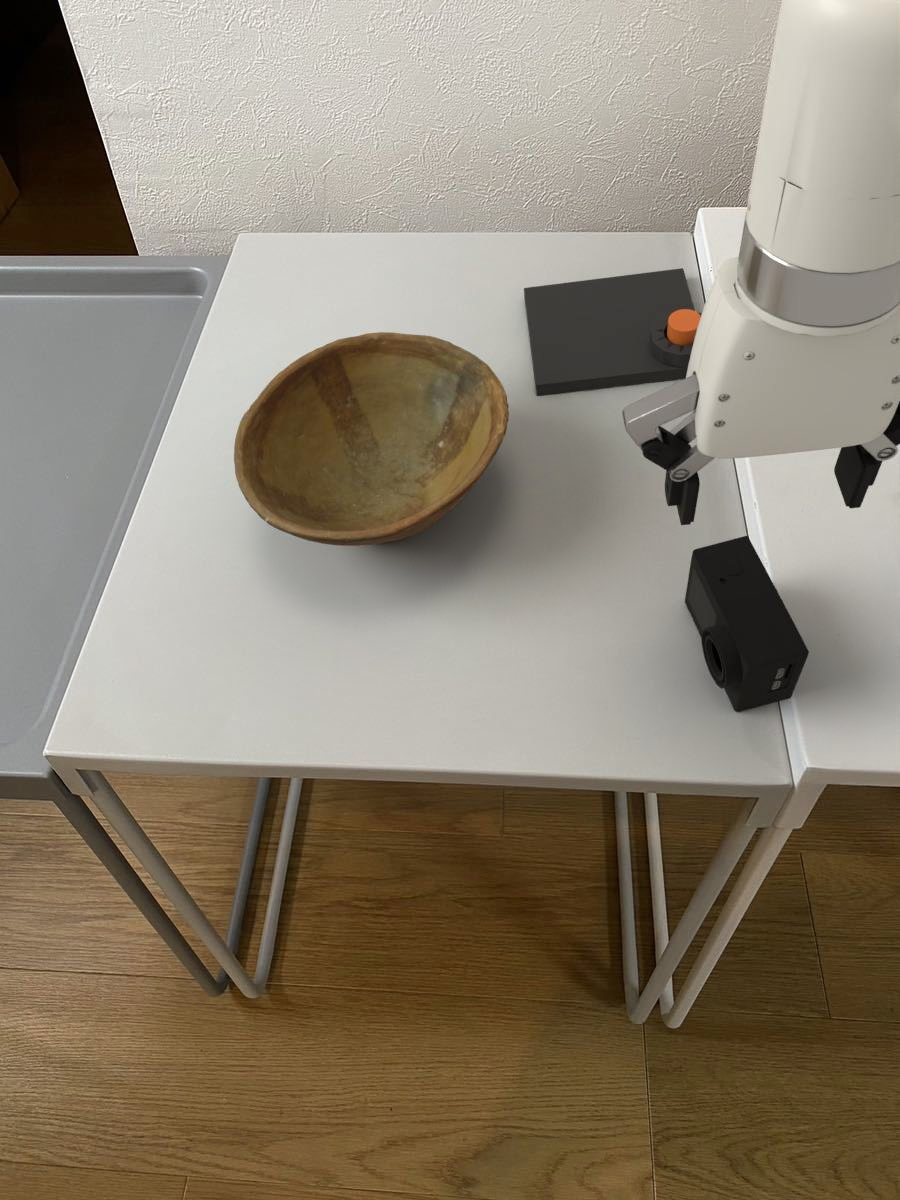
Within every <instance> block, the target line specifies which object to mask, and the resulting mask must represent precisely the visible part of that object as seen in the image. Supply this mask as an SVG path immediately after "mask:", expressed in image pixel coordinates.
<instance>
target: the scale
mask: <svg viewBox="0 0 900 1200" xmlns="http://www.w3.org/2000/svg"><path fill="white" fill-rule="evenodd" d="M523 297H524V305H525V313H526V314H525V315H526V322H527V331H528V338H529V347H530V353H531V355H530V356H531V363H532V371H533V380H534V387H535V395H536V396H544V395H553V394H562V393H570V392H579V391H580V392H581V391H589V390H598V389H605V388H613V387H615V388H616V387H623V386H632V385H639V384H641V385H642V384H647V383H648V384H650V383H657V382H665V381H674V380H683V379H685V378H686V375H687V370H688V365H689V360H690V356H691V351H692V347H693V344H691V345H683V346H682V345H678V344H673V343H672V342H671V341H669V339H668V337H667V328H668V319H669V316H670V315H671V314H672V313H673V312H675V311H677V310H681V309H689V310H693V311H695V312H697V313H698V314H699V315H700V316H701V315H702V312H699V311H696V310H695V306H694V303H693V299H692V296H691V291H690V288H689V284H688V280H687V277H686V273H685V270H684V268H683V267H681V268H680V267H679V268H674V269H673V268H672V269H666V270H665V269H664V270H657V271H650V272H640V273H633V274H624V275H617V276H610V277H609V276H608V277H602V278H593V279H585V280H578V281H577V280H576V281H569V282H563V283H562V282H561V283H553V284H545V285H537V286H528V287H524V288H523Z"/></svg>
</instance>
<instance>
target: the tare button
mask: <svg viewBox="0 0 900 1200" xmlns="http://www.w3.org/2000/svg"><path fill="white" fill-rule="evenodd" d="M697 312H698V311H696V310H695V311H693V310H689V309H681V310H677V311H675V312H673V313H672V314H671V315H670V316H669V319H668V328H667V337H668V339H669V341H671V342H672V343H673V344H678V345H682V346H683V345H691V344H693V343H694V339H695V335H696V332H697V328H698V325H699V321H700V318H701V316H700V315H699V314H698V313H697Z"/></svg>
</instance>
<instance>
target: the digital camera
mask: <svg viewBox="0 0 900 1200" xmlns="http://www.w3.org/2000/svg"><path fill="white" fill-rule="evenodd" d="M685 590H686V591H685V595H684V596H685V597H684V604H685V606H686V608H687V610H688V613H689V614H690V616H691V618H692V621H693V624H694V625H695V627H696V629H697V632H698V634H699V636H700V638H701V648H702V653H703V657H704V660H705V664H706V667H707V670H708V672H709V674H710V676H711V678H712V680H713V681H714V683H715V684H716V686H717V687H718V688H719V689H724V691H725V693H726V696H727V697H728V700H729V702H730V704H731V706H732V708H733V710H734V711H733V712H736V713H739V712H744V711H747V710H750V709H751V710H752V709H754V708H758V707H761V706H762V707H763V706H765V705H769V704H773V703H777V702H780V701H785V700H788V699H791V698H792V696H793V693H794V691H795V690H796V689H795V688H796V686H797V684H798V681H799V679H800V676H801V674H802V672H803V669H804V667H805V664H806V662H807V659H808V657H809V653H810V651H809V649H808V647H807V645H806V643H805V641H804V639H803V637H802V635H801V633H800V632H799V630H798V628H797V626H796V624H795V622H794V620H793V618H792V616H791V614H790V613H789V611H788V608H787V607H786V605H785V603H784V601H783V599H782V597H781V596H780V593H779V592H778V590H777V587H776V586H775V584H774V582H773V580H772V579H771V577H770V575H769V573H768V571H767V570H766V568H765V566H764V563H763V561H762V560H761V558H760V556H759V554H758V552H757V551H756V549H755V547H754V545H753V543H752V541H751V540H750V537H749V536H748V535H744V536H741V537H736V538H732V539H729V540H725V541H721V542H717V543H714V544H710V545H705V546H702V547H699V548H695V549H693V550H692V554H691V560H690V565H689V572H688V578H687V584H686V589H685Z"/></svg>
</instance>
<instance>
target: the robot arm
mask: <svg viewBox="0 0 900 1200" xmlns="http://www.w3.org/2000/svg"><path fill="white" fill-rule="evenodd" d="M779 7H780V8H779V12H778V19H777V24H776V30H775V36H774V42H773V49H772V55H771V59H770V60H771V61H770V66H769V71H768V72H769V73H768V77H767V78H768V79H767V85H766V90H765V97H764V103H763V109H762V116H761V121H760V128H759V134H758V140H757V146H756V151H755V152H756V153H755V158H754V164H753V170H752V174H751V180H750V186H749V193H748V197H747V205H746V212H745V216H744V221H743V222H744V223H743V228H742V234H741V241H740V247H739V252H738V257H737V256H736V257H734V258H730V259H727V260H725V261H724V262H723V263H722V264H721V266H720V267H719V270H718V271H717V273H716V275H715V277H714V280H713V282H712V285H711V287H710V290H709V292H708V295H707V298H706V299H705V302H704V306H703V309H702V312H701V313H702V315H701V318H700V321H699V325H698V328H697V332H696V335H695V339H694V343H693V347H692V351H691V356H690V360H689V365H688V370H687V375H686V378H684V379H680V380H679V381H676V382H675V383H673V384H671V385H668V386H666V387H664V388H662V389H660V390H657V391H656V392H653V393H651V394H650V395H647V396H645V397H643V398H641V399H639V400H636V401H634V402H632V403H630V404H628V405H626V406H625V407H624V408H623V409H622V412H621V413H622V419H623V425H624V429H625V431H626V433H627V434H628V436H629V437H630V439H631V440H632V441H633V442H634V443H635V445H636V446H637V447H638V448H639V449H640V450H641V451H642V456H643V457H644V459H646V460H647V461H650V462H652V463H653V464H655V465H657V466H658V467H659V468H662V469H663V470H665V479H664V495H665V500H666V504H667V507H675V506H676V509H677V513H678V518H679V523H680V525H681V526H689V525H691V524H692V523H694V521H695V518H696V517H695V516H696V510H697V503H698V500H699V491H700V487H701V486H700V485H701V484H700V483H701V482H700V477H699V473H698V472H699V471H701V470H703V468H704V467H706V466H707V465H708V464H709V463H711V462H712V461H713V460H714V459H721V460H722V459H723V460H725V459H726V460H729V459H746V458H757V457H764V456H765V457H766V456H777V455H787V454H795V453H796V454H797V453H805V452H806V453H807V452H815V451H824V450H832V449H839V448H840V451H839V453H838V456H837V459H836V462H835V465H834V468H833V469H834V470H833V473H834V476H835V479H836V482H837V485H838V488H839V490H840V493H841V495H842V500H843V502H844V505H845V507H848V508H849V509H859V508H861V507H862V504H863V502H864V499H865V497H866V494H867V492H868V489H869V487H871V486H873V485H874V484H875V482H876V479H877V476H878V473H879V471H880V469H881V466H882V464H883V462H885V461H888V460H890V459H893V458H894V457H896V455H898V453H899V449H898V446H900V0H781V2H780V6H779ZM688 413H690V414H688ZM686 414H688V415H687V416H686V417H685V418H684V419H682V420H681V421H680V422H679V423H678V424H677V425H675V426H674V427H673V428H672V429H670V430H667V429H666V428H664V427H663V426H662V425H665V424H667V423H669V422H671V421H674V420H675V419H678V418H681V417H682V416H684V415H686ZM695 439H696V444H694V445H693V446H691V444H690V443H691V442H693V441H694V440H695Z"/></svg>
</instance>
